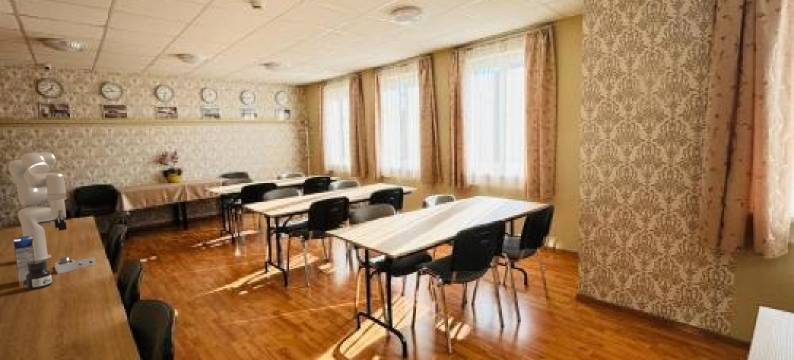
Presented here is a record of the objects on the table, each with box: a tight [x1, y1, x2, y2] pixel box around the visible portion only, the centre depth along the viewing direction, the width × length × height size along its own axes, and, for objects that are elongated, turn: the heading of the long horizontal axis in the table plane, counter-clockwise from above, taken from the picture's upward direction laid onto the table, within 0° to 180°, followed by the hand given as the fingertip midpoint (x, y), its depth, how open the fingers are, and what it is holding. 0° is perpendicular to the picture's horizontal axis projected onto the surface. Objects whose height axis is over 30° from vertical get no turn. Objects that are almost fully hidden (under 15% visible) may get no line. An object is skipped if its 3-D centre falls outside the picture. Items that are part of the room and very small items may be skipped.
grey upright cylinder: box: [59, 256, 71, 264], centre depth 213 cm, size 4×4×7 cm
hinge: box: [54, 256, 96, 275], centre depth 219 cm, size 17×17×4 cm
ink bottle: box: [26, 259, 53, 290], centre depth 189 cm, size 10×9×12 cm
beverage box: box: [13, 236, 36, 287], centre depth 196 cm, size 7×11×22 cm, turn 44°
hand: (61, 228), depth 211 cm, fingers open, 9 cm apart
